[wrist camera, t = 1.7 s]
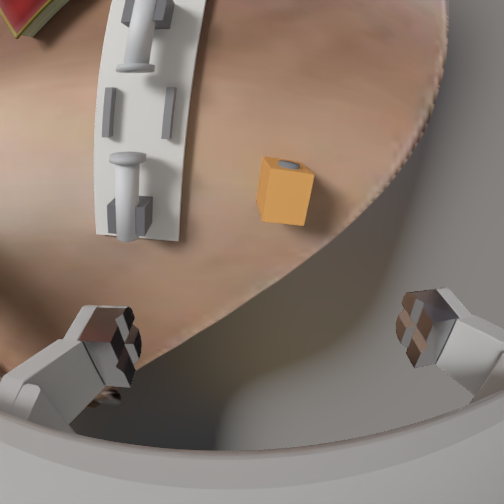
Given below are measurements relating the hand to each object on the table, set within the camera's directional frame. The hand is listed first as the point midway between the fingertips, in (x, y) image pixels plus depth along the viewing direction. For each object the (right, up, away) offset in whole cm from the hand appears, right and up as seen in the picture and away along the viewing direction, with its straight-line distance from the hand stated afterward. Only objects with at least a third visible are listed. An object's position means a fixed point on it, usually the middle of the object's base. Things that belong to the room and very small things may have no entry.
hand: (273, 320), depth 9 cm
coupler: (+2, +9, +24) cm, 26 cm away
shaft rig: (-12, +16, +19) cm, 28 cm away
